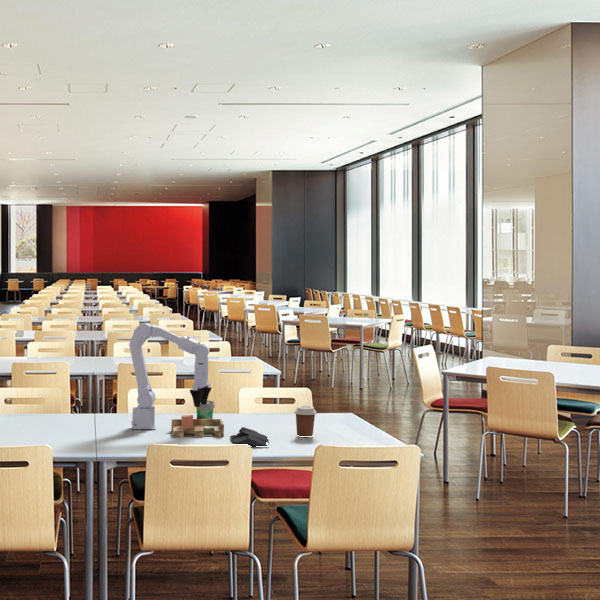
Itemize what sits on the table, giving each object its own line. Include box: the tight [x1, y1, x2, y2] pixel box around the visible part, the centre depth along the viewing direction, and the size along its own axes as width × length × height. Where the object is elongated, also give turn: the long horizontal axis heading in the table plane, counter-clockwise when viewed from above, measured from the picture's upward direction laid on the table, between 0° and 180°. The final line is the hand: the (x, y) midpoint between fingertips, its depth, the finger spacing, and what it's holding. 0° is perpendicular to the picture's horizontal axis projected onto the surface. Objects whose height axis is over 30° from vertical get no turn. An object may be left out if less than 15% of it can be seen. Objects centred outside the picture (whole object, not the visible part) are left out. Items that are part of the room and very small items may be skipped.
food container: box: [195, 400, 216, 419], centre depth 361 cm, size 12×6×10 cm, turn 168°
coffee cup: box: [293, 405, 317, 436], centre depth 341 cm, size 9×9×12 cm
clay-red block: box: [181, 414, 194, 428], centre depth 343 cm, size 4×4×4 cm
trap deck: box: [170, 418, 225, 438], centre depth 341 cm, size 20×13×5 cm, turn 100°
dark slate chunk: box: [229, 426, 269, 448], centre depth 326 cm, size 15×22×5 cm
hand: (200, 405), depth 351 cm, fingers open, 7 cm apart
